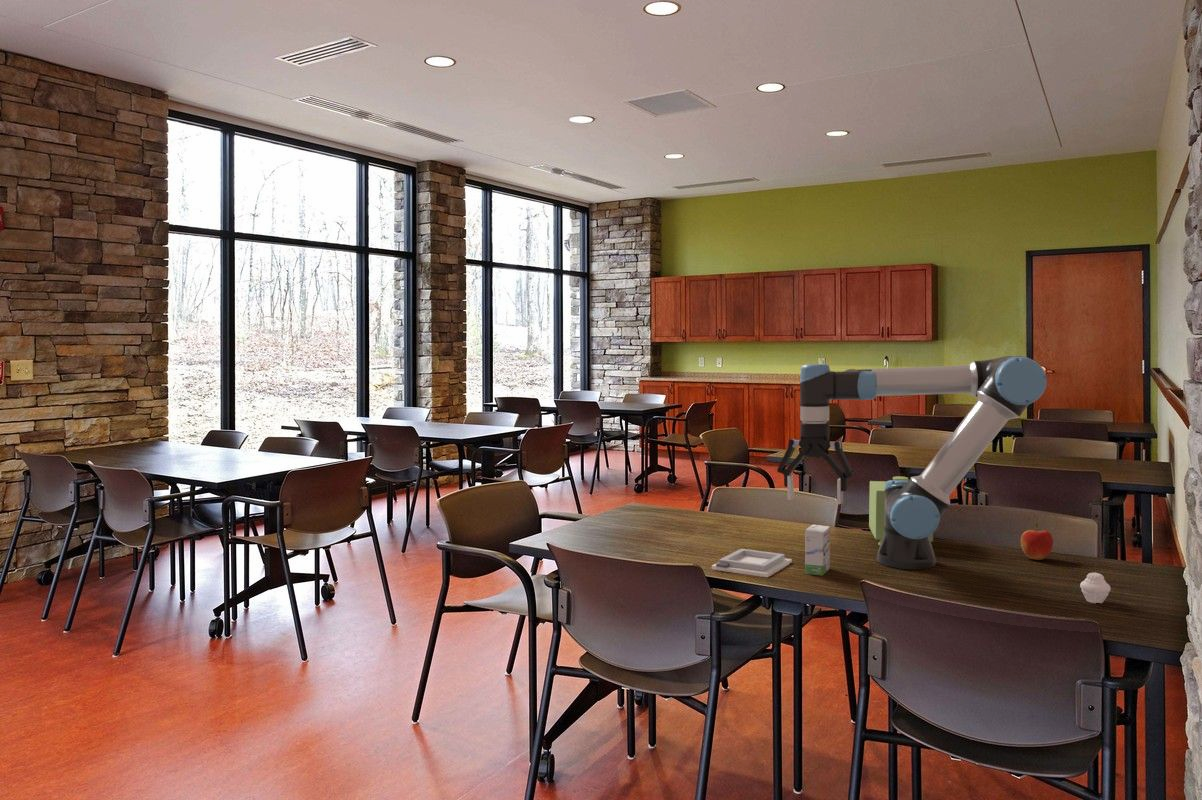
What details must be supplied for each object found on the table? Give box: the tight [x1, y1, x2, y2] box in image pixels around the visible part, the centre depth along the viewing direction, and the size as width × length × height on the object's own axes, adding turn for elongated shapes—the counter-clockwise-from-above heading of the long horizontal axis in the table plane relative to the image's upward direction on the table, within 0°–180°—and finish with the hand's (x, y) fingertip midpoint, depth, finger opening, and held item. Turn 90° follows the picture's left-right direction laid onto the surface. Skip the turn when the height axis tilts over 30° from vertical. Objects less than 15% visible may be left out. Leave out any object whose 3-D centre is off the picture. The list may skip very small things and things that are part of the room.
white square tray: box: [711, 548, 793, 578], centre depth 234 cm, size 16×18×2 cm
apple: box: [1020, 523, 1054, 561], centre depth 239 cm, size 8×8×10 cm
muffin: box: [1079, 572, 1112, 604], centre depth 199 cm, size 6×6×7 cm
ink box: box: [804, 524, 831, 577], centre depth 228 cm, size 8×5×12 cm, turn 152°
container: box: [868, 475, 934, 546], centre depth 262 cm, size 19×16×20 cm
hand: (815, 501), depth 228 cm, fingers open, 13 cm apart
